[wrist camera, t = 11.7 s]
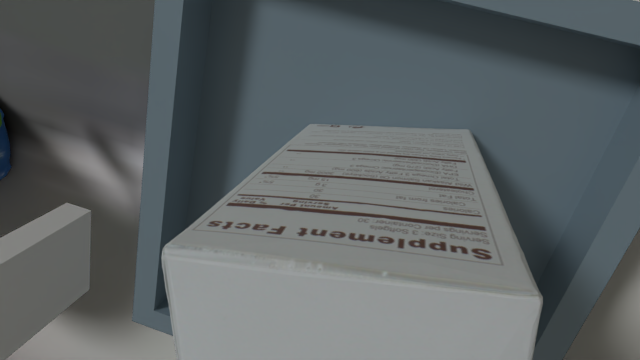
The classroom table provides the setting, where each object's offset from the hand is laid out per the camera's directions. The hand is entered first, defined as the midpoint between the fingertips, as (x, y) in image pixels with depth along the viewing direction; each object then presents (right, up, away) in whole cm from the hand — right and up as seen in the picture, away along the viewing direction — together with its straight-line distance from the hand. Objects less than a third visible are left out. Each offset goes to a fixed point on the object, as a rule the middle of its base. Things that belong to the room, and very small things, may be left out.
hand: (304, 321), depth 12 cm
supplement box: (+3, +3, +9) cm, 10 cm away
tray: (+3, +3, +10) cm, 11 cm away
